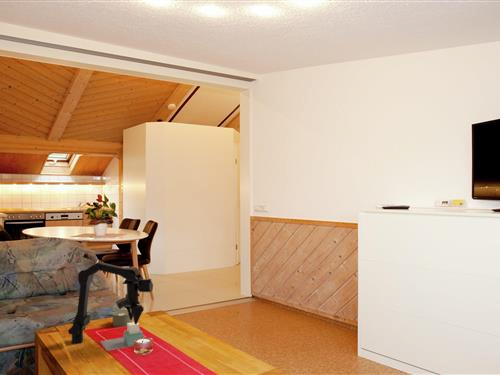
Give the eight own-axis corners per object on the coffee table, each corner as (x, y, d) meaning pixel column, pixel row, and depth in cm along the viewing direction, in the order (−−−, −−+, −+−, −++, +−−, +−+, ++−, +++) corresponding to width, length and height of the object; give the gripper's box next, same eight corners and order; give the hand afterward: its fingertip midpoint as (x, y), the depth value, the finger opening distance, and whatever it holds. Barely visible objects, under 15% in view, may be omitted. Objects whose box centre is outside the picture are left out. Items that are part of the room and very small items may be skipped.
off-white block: (127, 332, 234) (127, 323, 234) (136, 330, 236) (136, 321, 236) (129, 335, 229) (129, 325, 229) (139, 333, 232) (139, 324, 232)
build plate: (100, 343, 236) (100, 330, 236) (136, 336, 245) (135, 324, 245) (107, 352, 222) (106, 339, 222) (144, 345, 231) (144, 332, 231)
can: (134, 320, 275) (134, 309, 275) (130, 326, 263) (130, 315, 263) (115, 321, 274) (114, 310, 274) (110, 327, 262) (109, 315, 262)
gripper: (112, 290, 237) (113, 320, 237) (121, 298, 221) (122, 329, 221) (133, 287, 242) (134, 316, 242) (143, 294, 226) (144, 325, 226)
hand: (133, 321), depth 233 cm, fingers open, 9 cm apart
